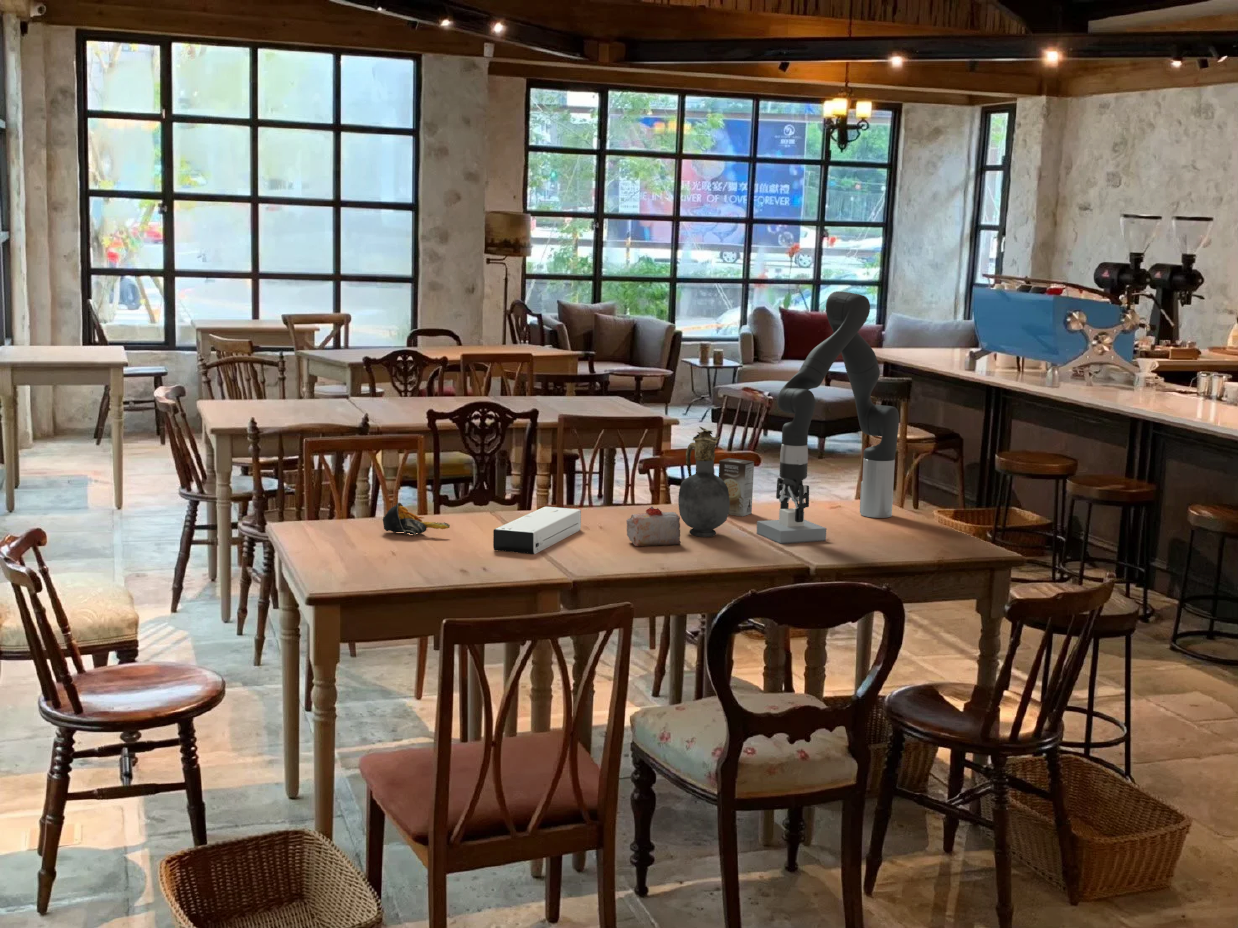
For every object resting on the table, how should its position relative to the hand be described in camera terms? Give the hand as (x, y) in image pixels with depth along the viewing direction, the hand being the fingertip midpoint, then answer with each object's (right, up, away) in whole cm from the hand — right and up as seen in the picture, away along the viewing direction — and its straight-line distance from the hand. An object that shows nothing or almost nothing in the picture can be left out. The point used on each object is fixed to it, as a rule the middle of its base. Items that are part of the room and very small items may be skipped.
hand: (791, 518), depth 366 cm
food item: (-38, -7, -11) cm, 40 cm away
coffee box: (-13, 0, +33) cm, 35 cm away
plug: (0, -5, +1) cm, 5 cm away
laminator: (-69, -6, -9) cm, 69 cm away
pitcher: (-25, -4, +4) cm, 26 cm away
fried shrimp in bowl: (-103, -4, -5) cm, 103 cm away
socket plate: (0, -5, +1) cm, 5 cm away
